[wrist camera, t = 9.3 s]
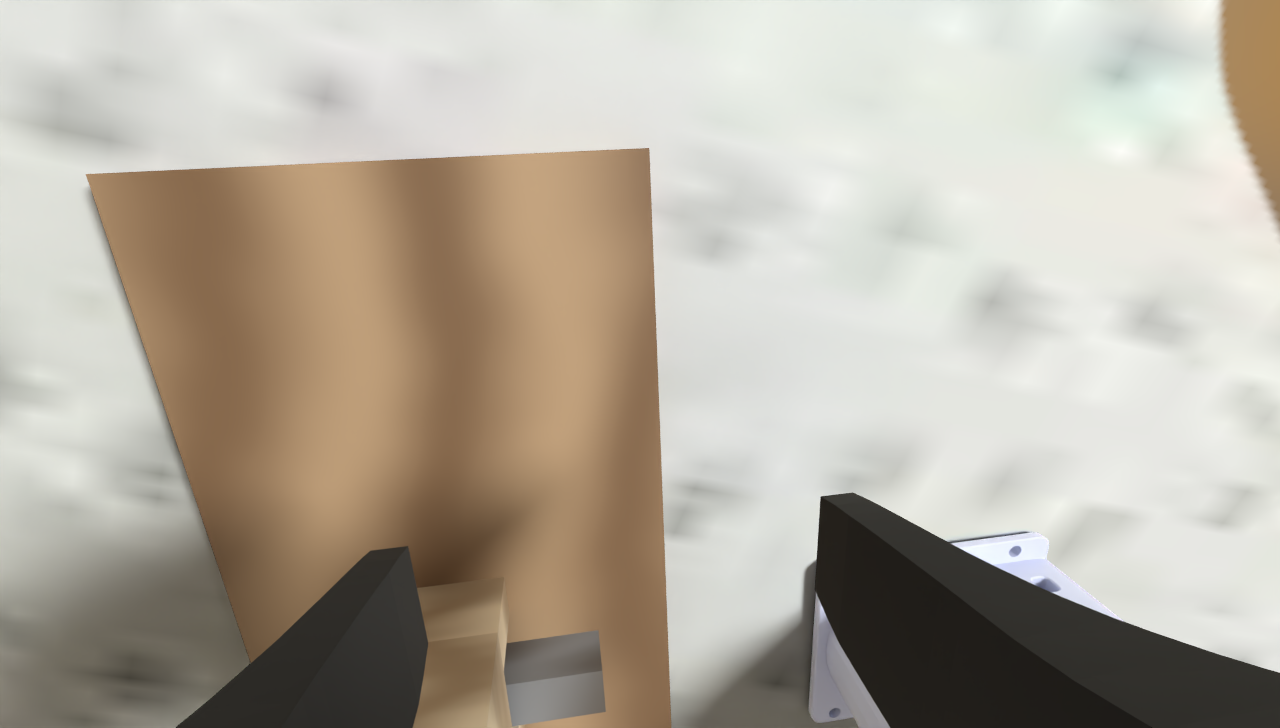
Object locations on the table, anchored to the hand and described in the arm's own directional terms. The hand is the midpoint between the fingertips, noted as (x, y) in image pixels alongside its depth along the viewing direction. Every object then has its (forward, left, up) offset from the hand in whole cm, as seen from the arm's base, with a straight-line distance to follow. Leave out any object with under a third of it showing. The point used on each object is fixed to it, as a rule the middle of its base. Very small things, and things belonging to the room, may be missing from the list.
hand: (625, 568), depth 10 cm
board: (+5, +5, -9) cm, 12 cm away
